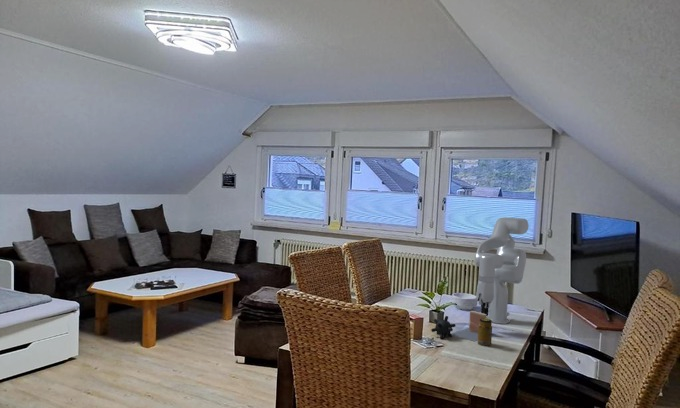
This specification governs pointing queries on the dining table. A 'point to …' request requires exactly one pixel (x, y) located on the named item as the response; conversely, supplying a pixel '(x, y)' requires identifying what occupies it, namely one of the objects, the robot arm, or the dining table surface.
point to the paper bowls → (464, 301)
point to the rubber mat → (467, 335)
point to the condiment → (485, 332)
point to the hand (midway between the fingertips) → (484, 315)
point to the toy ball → (443, 327)
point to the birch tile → (475, 321)
